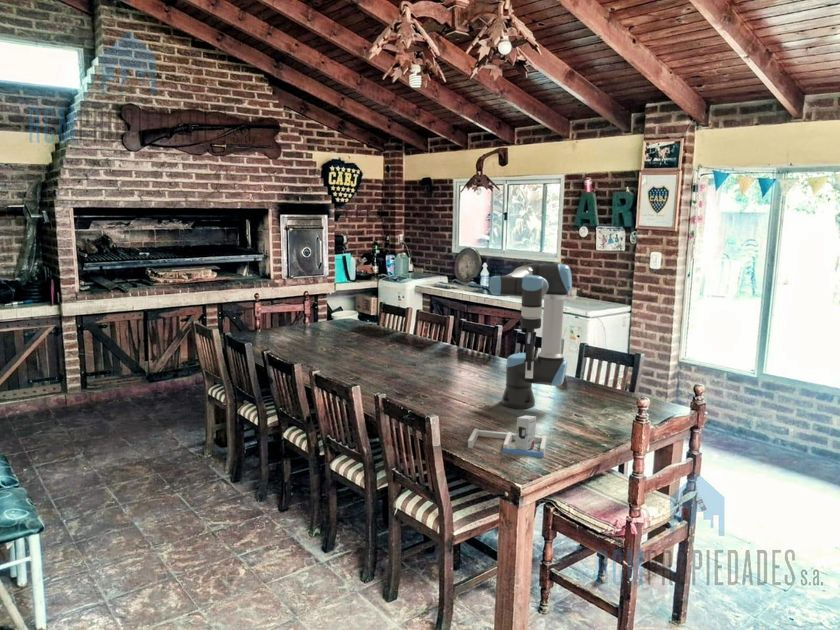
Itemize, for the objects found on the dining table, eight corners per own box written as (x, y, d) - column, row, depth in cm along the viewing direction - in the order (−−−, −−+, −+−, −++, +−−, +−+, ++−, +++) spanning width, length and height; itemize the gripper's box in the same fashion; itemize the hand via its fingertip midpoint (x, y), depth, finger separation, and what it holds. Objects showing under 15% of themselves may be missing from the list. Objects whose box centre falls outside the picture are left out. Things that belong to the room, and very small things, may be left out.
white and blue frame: (475, 434, 258) (475, 427, 258) (546, 441, 251) (547, 434, 250) (467, 448, 244) (467, 441, 243) (543, 457, 236) (543, 449, 236)
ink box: (522, 444, 248) (525, 414, 247) (534, 447, 245) (537, 416, 245) (514, 448, 240) (516, 417, 240) (526, 450, 238) (529, 419, 237)
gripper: (523, 313, 247) (521, 372, 251) (518, 319, 234) (516, 381, 239) (542, 314, 245) (540, 373, 249) (539, 321, 232) (537, 383, 237)
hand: (528, 377), depth 244 cm, fingers closed
